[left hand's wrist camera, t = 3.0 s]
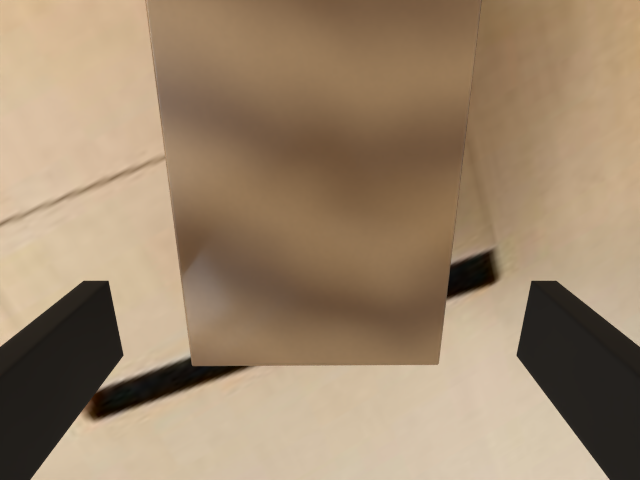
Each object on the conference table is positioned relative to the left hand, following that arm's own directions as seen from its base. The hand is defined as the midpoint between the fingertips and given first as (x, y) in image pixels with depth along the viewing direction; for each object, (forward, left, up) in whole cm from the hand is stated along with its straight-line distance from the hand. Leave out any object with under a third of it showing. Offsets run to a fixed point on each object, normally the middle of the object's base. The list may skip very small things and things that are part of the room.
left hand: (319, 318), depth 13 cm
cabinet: (+5, +2, -13) cm, 14 cm away
